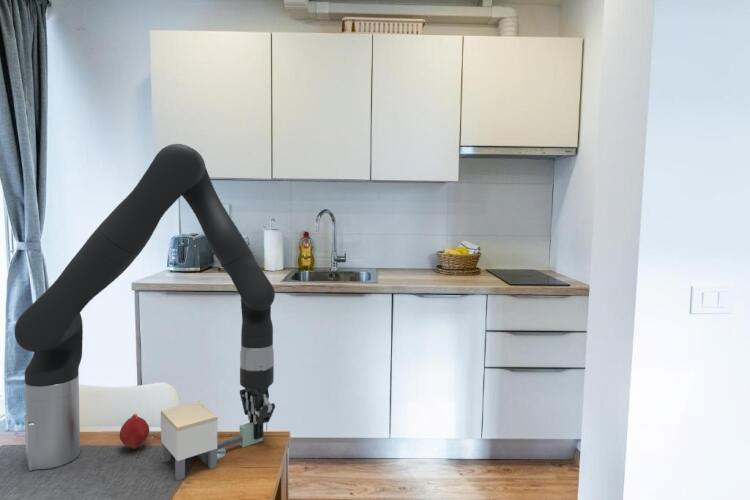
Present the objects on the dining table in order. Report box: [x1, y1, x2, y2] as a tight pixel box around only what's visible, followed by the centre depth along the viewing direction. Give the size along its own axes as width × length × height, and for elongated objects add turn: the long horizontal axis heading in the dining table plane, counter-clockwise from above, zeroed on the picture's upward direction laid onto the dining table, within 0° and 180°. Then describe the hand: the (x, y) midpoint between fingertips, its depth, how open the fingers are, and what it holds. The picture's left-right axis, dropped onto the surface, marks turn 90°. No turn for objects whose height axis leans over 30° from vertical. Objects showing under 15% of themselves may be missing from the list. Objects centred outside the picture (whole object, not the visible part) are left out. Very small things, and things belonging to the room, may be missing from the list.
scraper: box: [196, 421, 264, 465], centre depth 104 cm, size 14×5×4 cm, turn 132°
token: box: [217, 447, 227, 460], centre depth 101 cm, size 4×4×1 cm
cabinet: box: [160, 400, 218, 482], centre depth 97 cm, size 8×10×11 cm
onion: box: [119, 413, 150, 450], centre depth 103 cm, size 6×6×8 cm
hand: (256, 436), depth 108 cm, fingers closed
